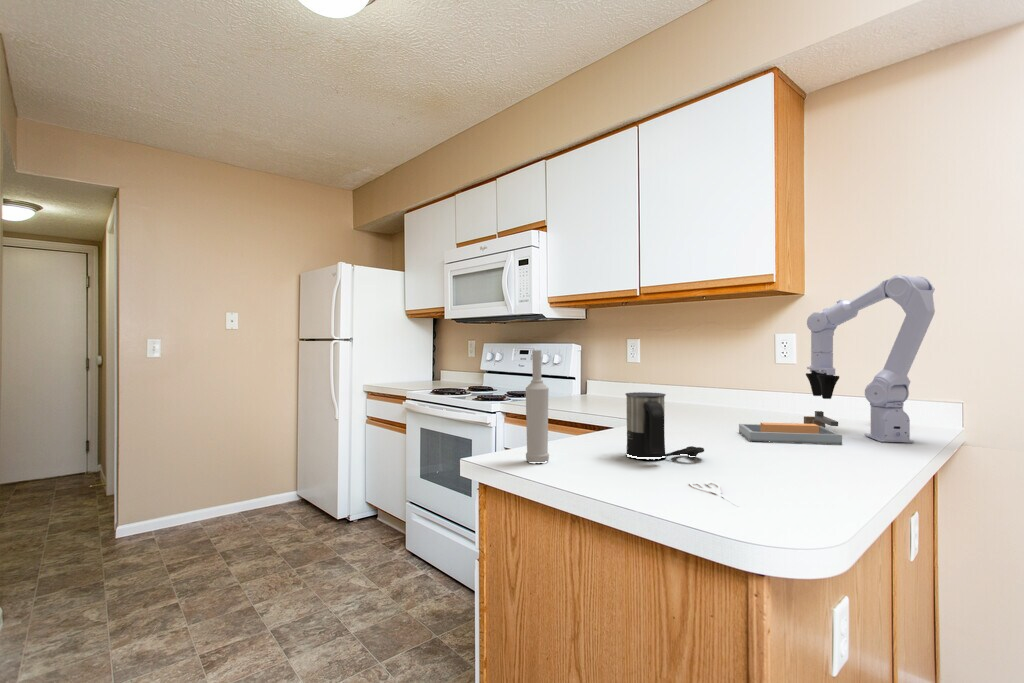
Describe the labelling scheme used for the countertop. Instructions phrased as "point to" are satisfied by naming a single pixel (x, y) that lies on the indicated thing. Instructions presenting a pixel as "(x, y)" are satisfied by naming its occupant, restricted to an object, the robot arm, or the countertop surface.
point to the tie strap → (825, 419)
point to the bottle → (537, 414)
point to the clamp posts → (813, 421)
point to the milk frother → (649, 426)
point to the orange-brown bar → (790, 428)
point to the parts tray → (789, 435)
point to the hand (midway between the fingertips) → (821, 397)
